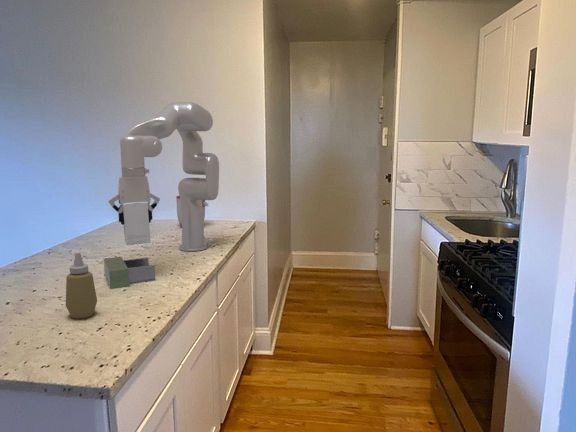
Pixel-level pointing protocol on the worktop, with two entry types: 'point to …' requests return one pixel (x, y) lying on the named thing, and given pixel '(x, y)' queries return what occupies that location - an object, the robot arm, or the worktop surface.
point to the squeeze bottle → (80, 290)
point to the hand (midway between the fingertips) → (135, 222)
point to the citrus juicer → (180, 209)
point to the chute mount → (127, 271)
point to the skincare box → (136, 223)
